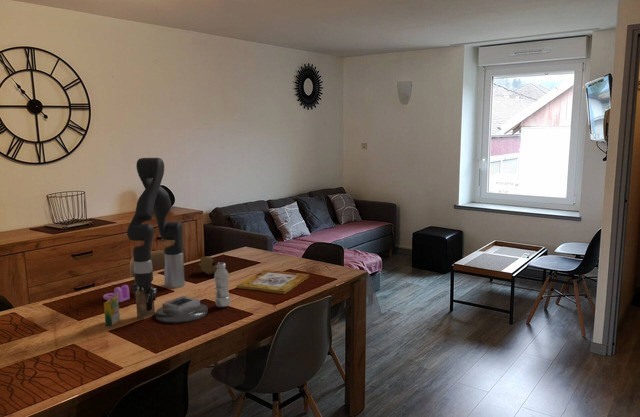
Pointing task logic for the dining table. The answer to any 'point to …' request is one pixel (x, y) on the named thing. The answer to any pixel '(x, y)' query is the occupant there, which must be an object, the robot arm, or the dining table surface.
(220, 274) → the plastic bottle
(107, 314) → the crayon box
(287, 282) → the picture frame
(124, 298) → the bracket
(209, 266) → the wooden carving
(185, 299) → the grey round socket base
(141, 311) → the tan rectangular block
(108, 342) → the dining table surface
